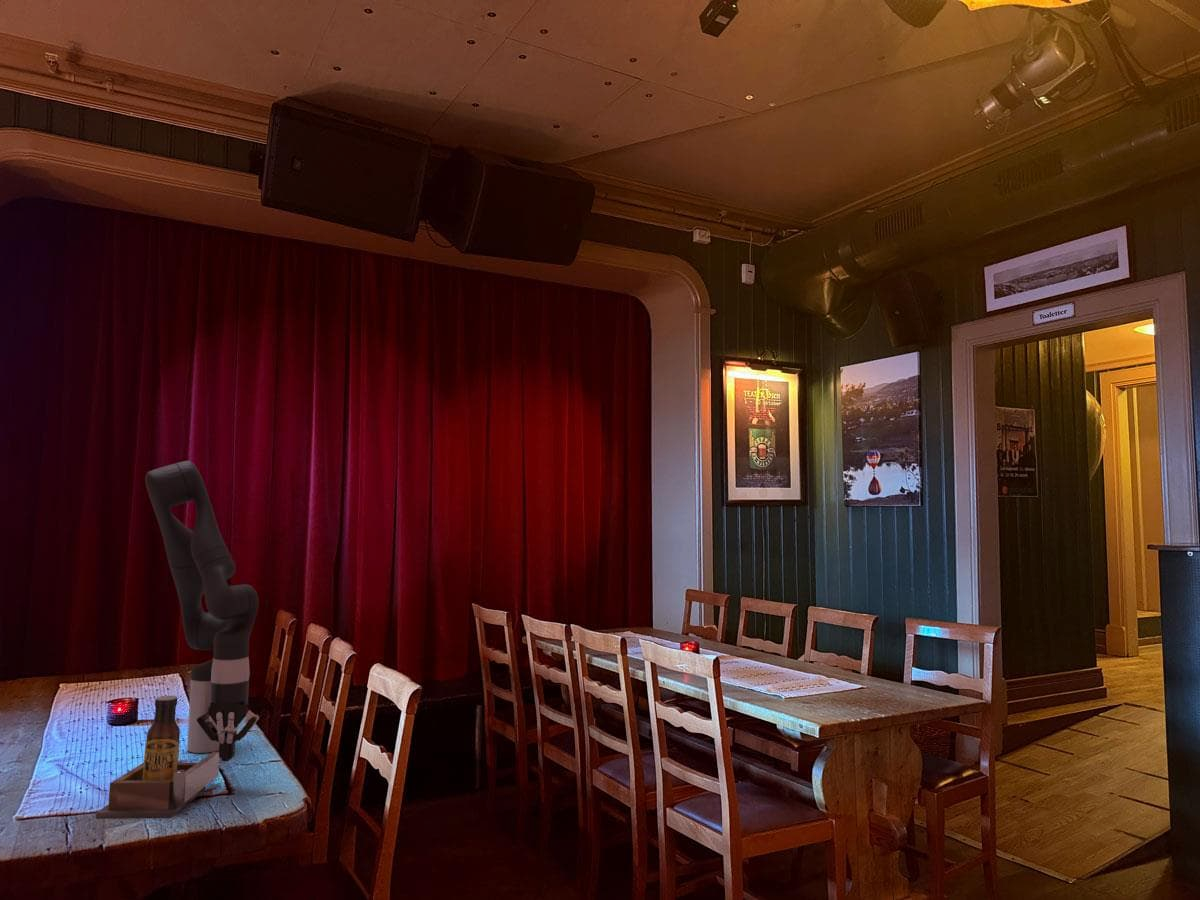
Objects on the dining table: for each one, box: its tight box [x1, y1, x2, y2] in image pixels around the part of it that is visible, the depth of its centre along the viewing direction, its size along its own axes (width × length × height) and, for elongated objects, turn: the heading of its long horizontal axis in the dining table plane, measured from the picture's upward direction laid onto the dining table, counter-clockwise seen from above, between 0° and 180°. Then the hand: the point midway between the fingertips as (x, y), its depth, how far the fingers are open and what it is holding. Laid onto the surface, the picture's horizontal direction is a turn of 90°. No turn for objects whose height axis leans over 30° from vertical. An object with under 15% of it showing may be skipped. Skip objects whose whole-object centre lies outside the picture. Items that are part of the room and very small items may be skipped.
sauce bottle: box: [142, 695, 181, 793], centre depth 167 cm, size 6×6×20 cm
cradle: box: [95, 762, 207, 819], centre depth 166 cm, size 16×14×6 cm
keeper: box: [172, 751, 220, 807], centre depth 169 cm, size 19×2×6 cm, turn 4°
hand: (226, 760), depth 176 cm, fingers closed
